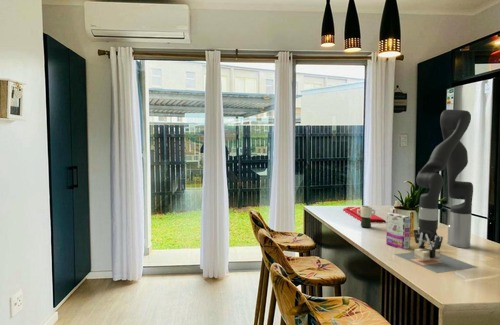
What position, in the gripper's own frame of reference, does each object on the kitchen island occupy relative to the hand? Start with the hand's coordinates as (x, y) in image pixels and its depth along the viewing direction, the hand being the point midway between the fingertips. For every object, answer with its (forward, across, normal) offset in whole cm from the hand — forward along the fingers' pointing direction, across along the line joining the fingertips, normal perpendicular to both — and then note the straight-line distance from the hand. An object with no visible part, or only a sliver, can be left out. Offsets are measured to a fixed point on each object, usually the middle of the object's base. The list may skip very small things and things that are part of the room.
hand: (426, 255), depth 147 cm
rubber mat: (+3, 0, -4) cm, 5 cm away
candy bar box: (+3, +23, -5) cm, 24 cm away
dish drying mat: (+4, +90, -33) cm, 96 cm away
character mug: (+3, +62, -15) cm, 64 cm away
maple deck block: (+1, 0, 0) cm, 1 cm away
